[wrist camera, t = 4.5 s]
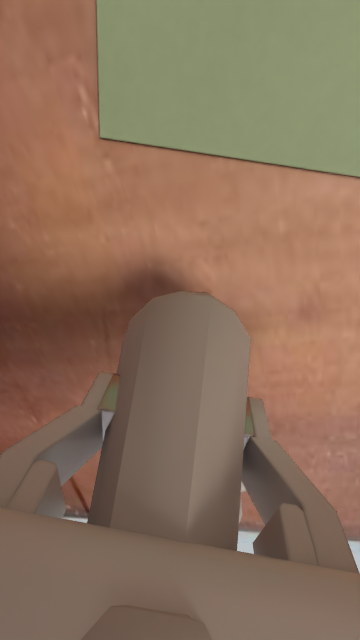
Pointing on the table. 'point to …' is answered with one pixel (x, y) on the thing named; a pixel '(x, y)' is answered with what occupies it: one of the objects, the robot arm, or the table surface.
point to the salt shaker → (174, 443)
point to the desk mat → (234, 78)
